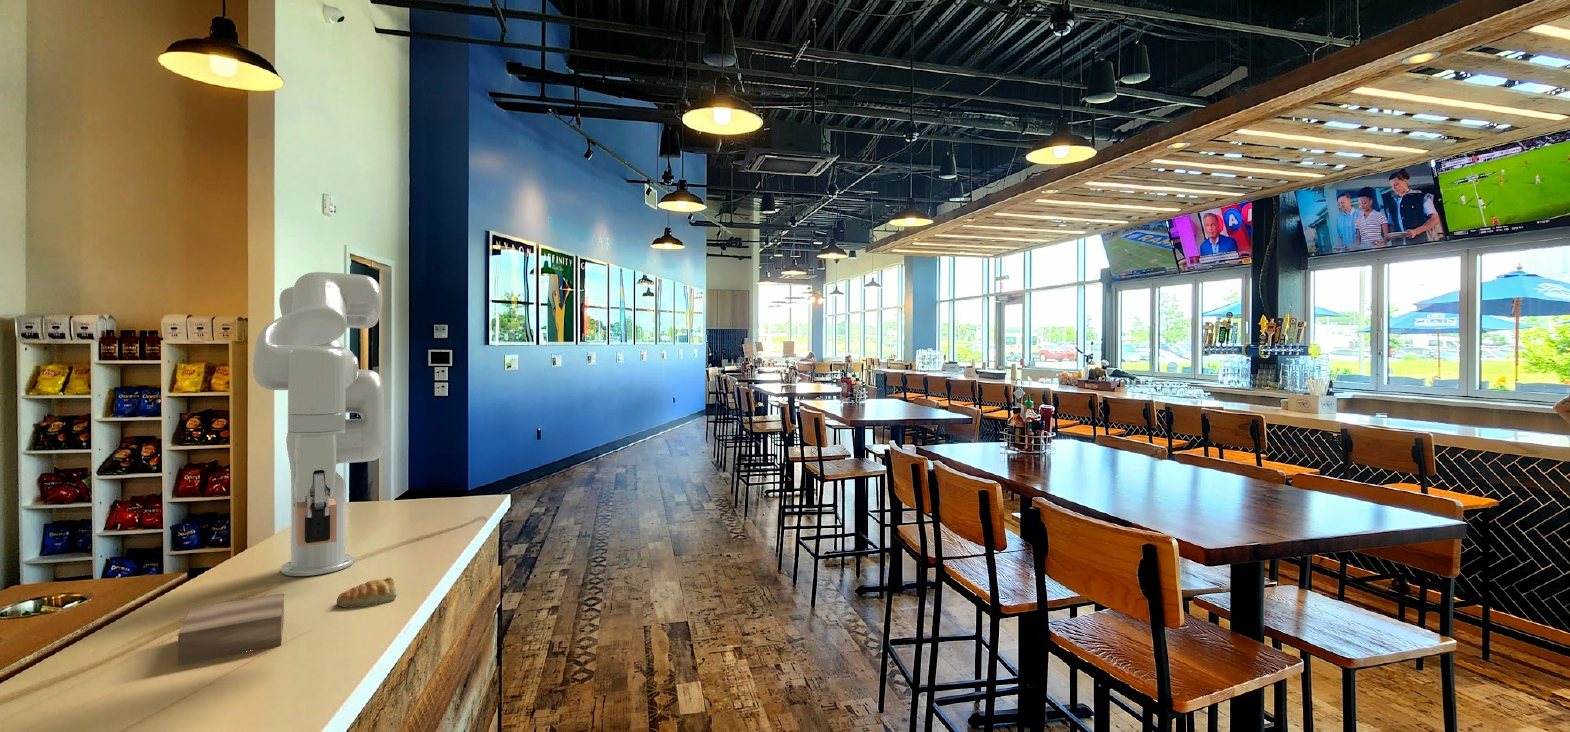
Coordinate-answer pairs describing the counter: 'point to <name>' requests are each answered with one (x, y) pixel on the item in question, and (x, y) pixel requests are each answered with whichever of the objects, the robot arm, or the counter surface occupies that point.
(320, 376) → the robot arm
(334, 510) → the terracotta block
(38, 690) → the counter surface
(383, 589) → the pastry
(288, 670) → the counter surface
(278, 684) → the counter surface
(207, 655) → the taupe streaked block
